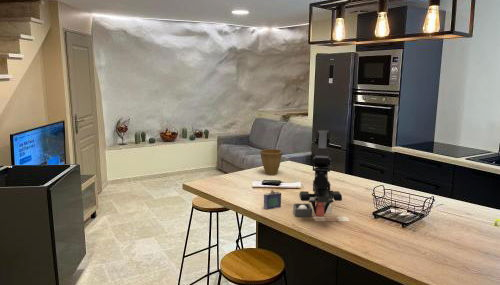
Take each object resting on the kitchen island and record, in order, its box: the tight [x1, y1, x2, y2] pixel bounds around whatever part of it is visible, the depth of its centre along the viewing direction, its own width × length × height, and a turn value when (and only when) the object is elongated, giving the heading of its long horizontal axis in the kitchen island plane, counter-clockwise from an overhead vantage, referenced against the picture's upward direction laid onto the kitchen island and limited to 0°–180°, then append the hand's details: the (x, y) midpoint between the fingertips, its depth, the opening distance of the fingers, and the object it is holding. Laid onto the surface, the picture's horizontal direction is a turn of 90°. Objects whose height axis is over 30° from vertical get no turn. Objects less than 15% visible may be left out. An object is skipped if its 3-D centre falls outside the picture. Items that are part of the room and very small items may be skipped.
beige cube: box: [324, 203, 333, 215], centre depth 182 cm, size 4×4×4 cm
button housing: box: [292, 203, 313, 218], centre depth 179 cm, size 8×8×4 cm
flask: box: [263, 189, 282, 210], centre depth 188 cm, size 9×3×11 cm, turn 109°
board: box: [312, 216, 350, 222], centre depth 177 cm, size 14×26×2 cm, turn 91°
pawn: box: [314, 201, 325, 217], centre depth 172 cm, size 4×4×7 cm
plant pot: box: [259, 148, 283, 176], centre depth 254 cm, size 15×15×16 cm
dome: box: [298, 205, 307, 209], centre depth 179 cm, size 6×6×4 cm
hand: (319, 213), depth 173 cm, fingers closed on pawn, 4 cm apart
